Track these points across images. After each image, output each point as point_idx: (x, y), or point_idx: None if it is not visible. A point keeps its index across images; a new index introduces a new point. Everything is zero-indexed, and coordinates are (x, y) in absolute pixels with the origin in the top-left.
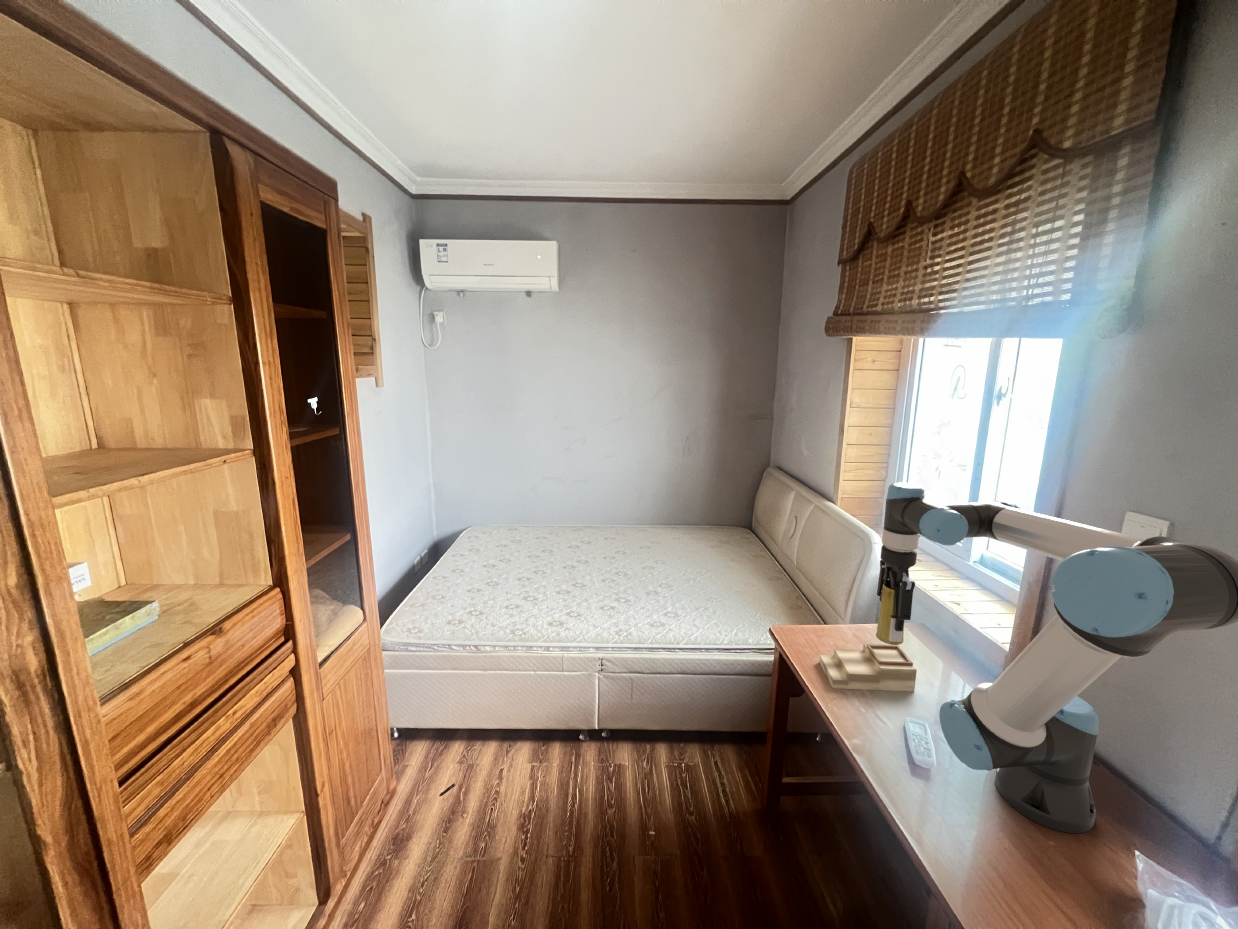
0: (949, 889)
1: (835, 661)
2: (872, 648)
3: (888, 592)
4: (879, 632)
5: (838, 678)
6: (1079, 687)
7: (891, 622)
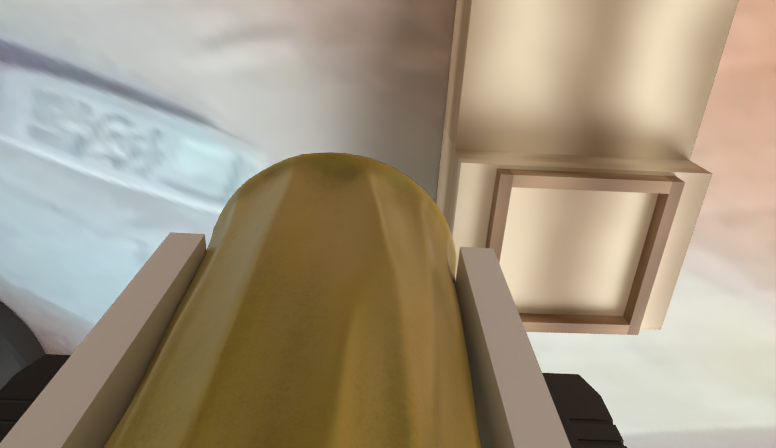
0: None
1: None
2: (654, 201)
3: None
4: (317, 194)
5: None
6: None
7: (79, 388)
